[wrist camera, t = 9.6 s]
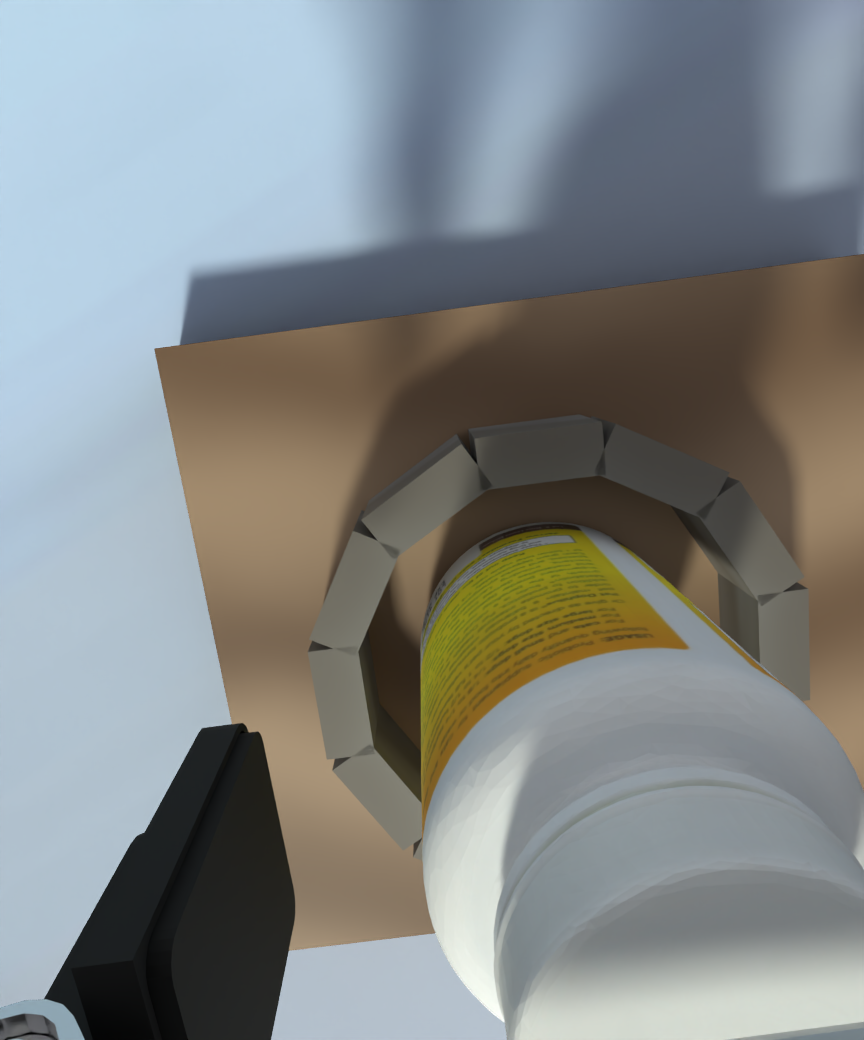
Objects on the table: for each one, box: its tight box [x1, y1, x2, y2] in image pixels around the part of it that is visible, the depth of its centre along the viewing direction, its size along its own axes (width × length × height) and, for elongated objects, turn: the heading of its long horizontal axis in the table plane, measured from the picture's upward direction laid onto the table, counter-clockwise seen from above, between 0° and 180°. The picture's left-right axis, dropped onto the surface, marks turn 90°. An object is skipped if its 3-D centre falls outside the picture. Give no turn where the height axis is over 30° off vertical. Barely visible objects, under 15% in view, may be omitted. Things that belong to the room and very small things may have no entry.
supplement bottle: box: [420, 522, 864, 1040], centre depth 11 cm, size 6×6×10 cm
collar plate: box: [155, 254, 864, 951], centre depth 16 cm, size 15×15×4 cm
